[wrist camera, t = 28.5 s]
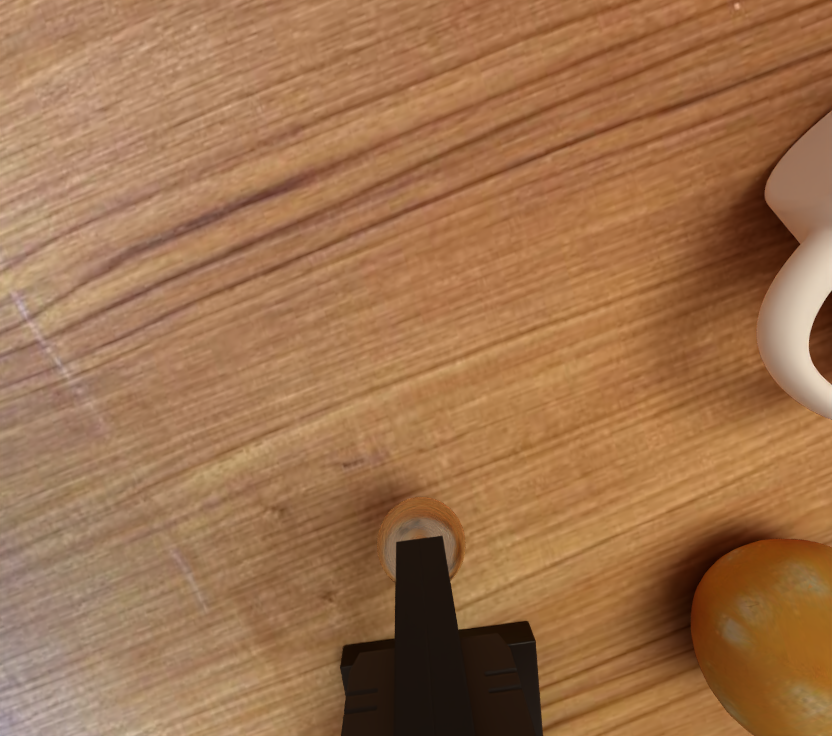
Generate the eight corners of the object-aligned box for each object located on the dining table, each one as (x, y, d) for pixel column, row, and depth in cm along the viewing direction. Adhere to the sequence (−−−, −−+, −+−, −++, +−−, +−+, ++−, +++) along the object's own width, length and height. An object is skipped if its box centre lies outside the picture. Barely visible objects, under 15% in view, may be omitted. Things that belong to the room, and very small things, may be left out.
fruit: (934, 638, 20) (1125, 769, 12) (779, 737, 21) (865, 903, 14) (765, 491, 22) (838, 526, 15) (641, 588, 24) (653, 662, 17)
